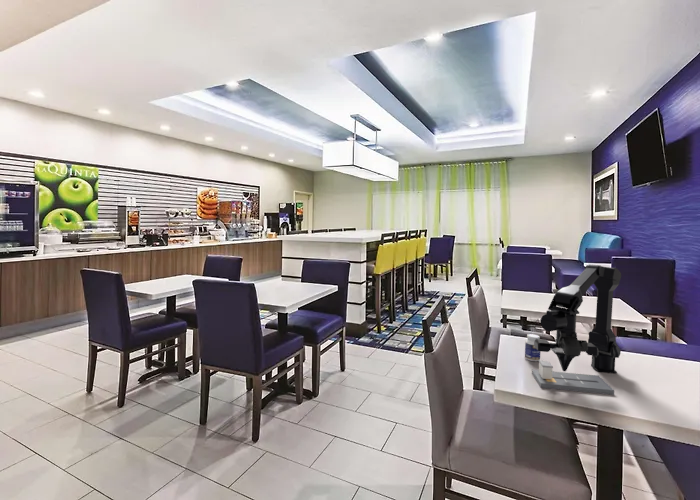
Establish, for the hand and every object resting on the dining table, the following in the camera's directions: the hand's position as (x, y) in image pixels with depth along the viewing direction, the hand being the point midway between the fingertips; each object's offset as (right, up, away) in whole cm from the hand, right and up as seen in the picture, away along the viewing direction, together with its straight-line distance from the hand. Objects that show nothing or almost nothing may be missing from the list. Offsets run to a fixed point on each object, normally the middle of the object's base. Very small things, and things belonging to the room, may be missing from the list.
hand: (564, 370), depth 126 cm
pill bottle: (0, -3, +23) cm, 23 cm away
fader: (-6, -2, +2) cm, 6 cm away
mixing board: (+2, -4, 0) cm, 5 cm away
